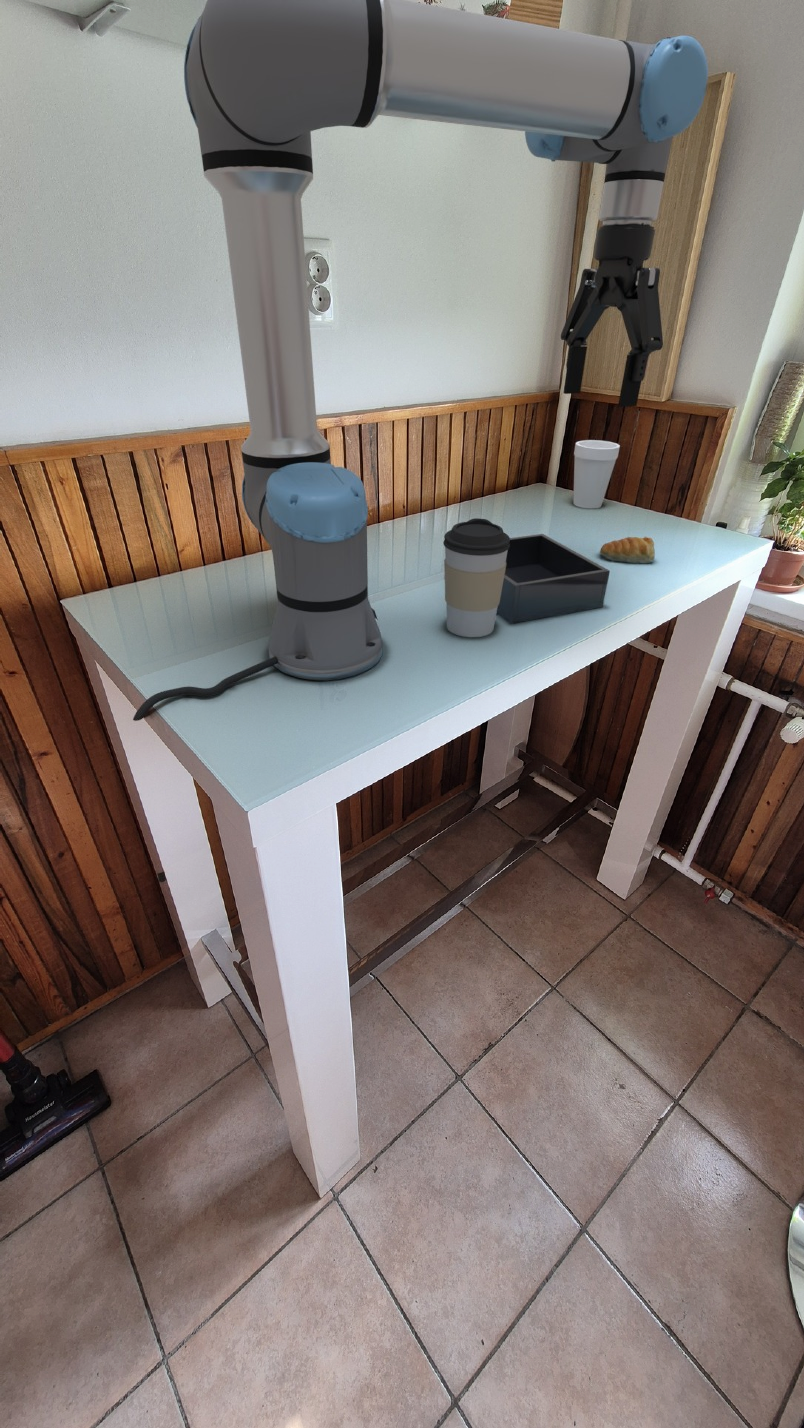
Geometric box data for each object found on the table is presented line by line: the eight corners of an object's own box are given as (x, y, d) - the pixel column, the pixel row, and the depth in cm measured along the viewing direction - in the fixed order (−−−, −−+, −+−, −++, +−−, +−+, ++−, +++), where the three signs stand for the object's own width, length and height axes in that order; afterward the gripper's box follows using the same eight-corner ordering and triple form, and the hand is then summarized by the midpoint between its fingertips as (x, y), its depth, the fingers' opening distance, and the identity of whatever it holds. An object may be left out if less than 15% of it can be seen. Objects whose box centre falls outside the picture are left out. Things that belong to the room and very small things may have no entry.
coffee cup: (498, 643, 90) (509, 538, 82) (434, 637, 92) (439, 533, 84) (503, 616, 98) (513, 518, 89) (444, 611, 99) (449, 513, 91)
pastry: (605, 564, 117) (608, 543, 115) (594, 551, 122) (598, 531, 120) (656, 564, 117) (660, 543, 115) (643, 551, 123) (647, 531, 121)
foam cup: (567, 508, 145) (576, 447, 138) (565, 497, 153) (574, 439, 146) (610, 511, 144) (622, 449, 137) (606, 500, 152) (617, 441, 145)
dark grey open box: (511, 623, 96) (515, 585, 92) (455, 579, 110) (457, 544, 107) (602, 607, 101) (610, 570, 98) (538, 566, 115) (542, 533, 112)
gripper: (719, 219, 78) (675, 410, 90) (592, 230, 97) (570, 387, 109) (670, 216, 76) (632, 413, 87) (550, 228, 95) (532, 389, 106)
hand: (597, 399), depth 98 cm, fingers open, 13 cm apart
